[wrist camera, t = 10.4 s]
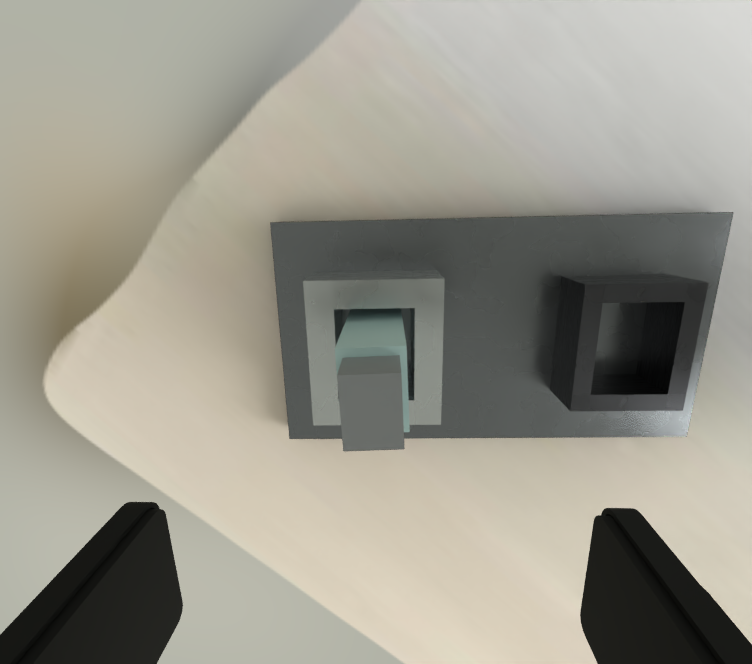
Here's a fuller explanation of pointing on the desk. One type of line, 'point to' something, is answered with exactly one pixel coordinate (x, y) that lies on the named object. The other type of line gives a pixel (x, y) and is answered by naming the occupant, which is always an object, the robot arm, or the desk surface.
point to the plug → (373, 380)
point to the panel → (508, 319)
